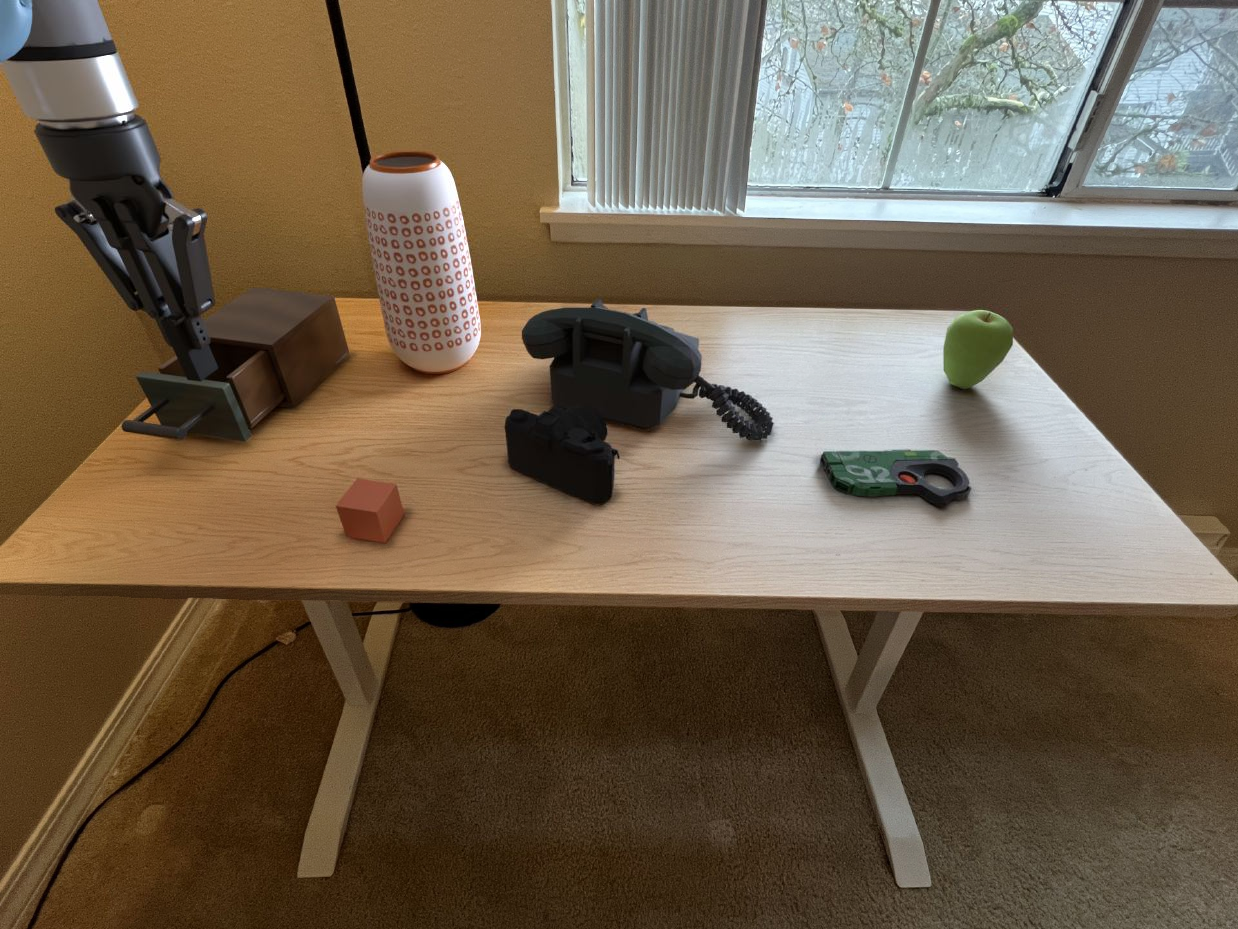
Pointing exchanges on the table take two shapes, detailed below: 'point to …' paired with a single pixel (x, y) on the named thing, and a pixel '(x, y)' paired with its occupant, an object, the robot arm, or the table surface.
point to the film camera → (563, 450)
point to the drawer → (210, 396)
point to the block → (370, 510)
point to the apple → (975, 347)
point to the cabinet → (285, 335)
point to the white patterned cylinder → (421, 260)
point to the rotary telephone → (630, 368)
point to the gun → (894, 473)
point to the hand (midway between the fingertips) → (203, 373)
